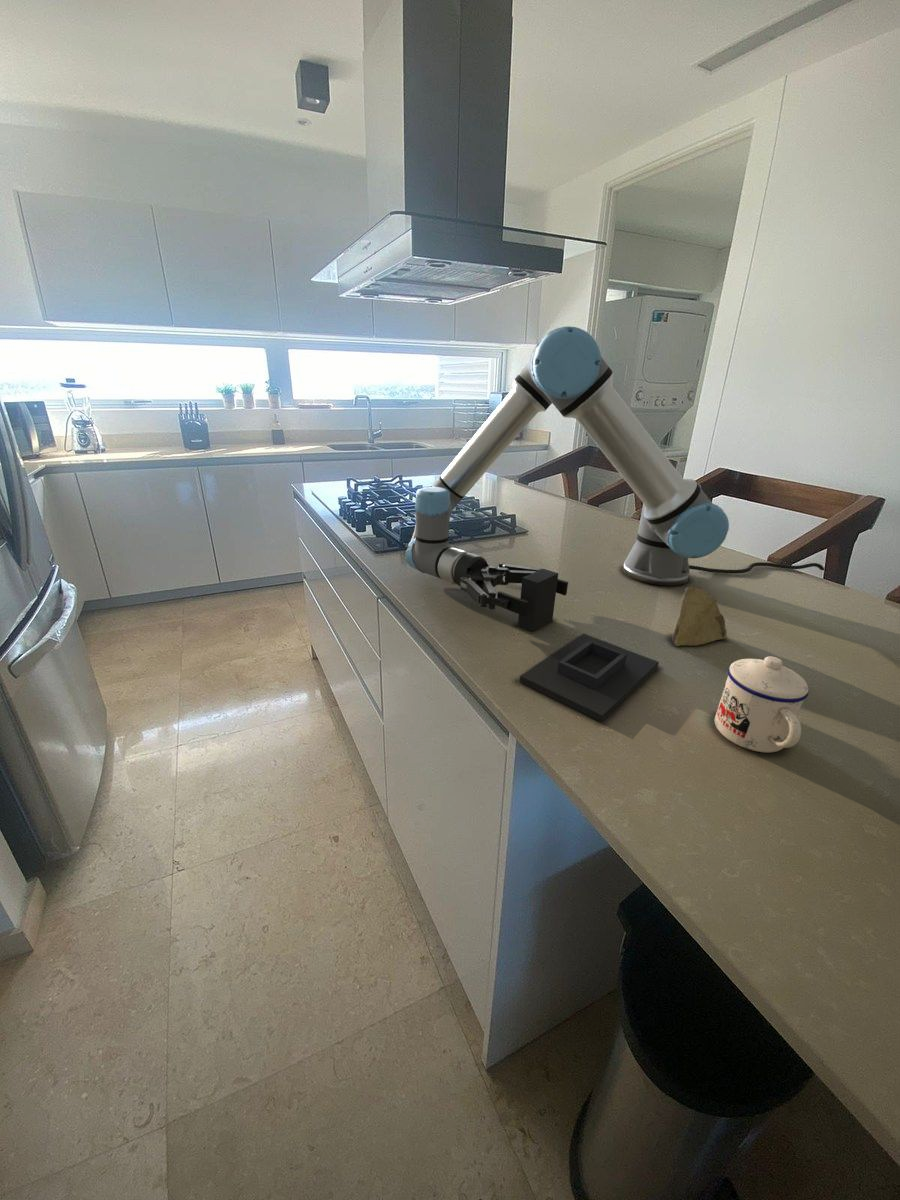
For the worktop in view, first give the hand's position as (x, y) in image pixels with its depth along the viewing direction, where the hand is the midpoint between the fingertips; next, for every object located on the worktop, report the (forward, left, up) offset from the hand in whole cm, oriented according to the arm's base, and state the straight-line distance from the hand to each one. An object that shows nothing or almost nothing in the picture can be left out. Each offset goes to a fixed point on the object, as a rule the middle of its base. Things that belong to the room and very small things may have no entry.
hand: (547, 598), depth 92 cm
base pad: (-5, +17, -6) cm, 18 cm away
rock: (-28, +3, -6) cm, 29 cm away
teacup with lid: (-24, +31, -6) cm, 40 cm away
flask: (+29, -41, -6) cm, 51 cm away
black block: (+2, -1, -6) cm, 6 cm away
